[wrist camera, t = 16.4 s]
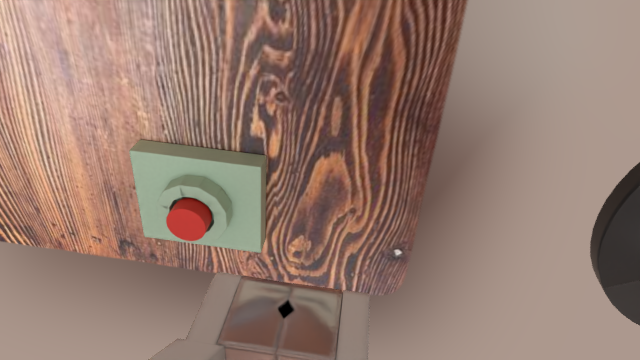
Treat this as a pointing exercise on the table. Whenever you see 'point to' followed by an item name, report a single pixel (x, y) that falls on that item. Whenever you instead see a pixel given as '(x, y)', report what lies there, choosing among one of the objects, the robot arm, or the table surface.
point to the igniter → (202, 191)
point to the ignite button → (189, 219)
